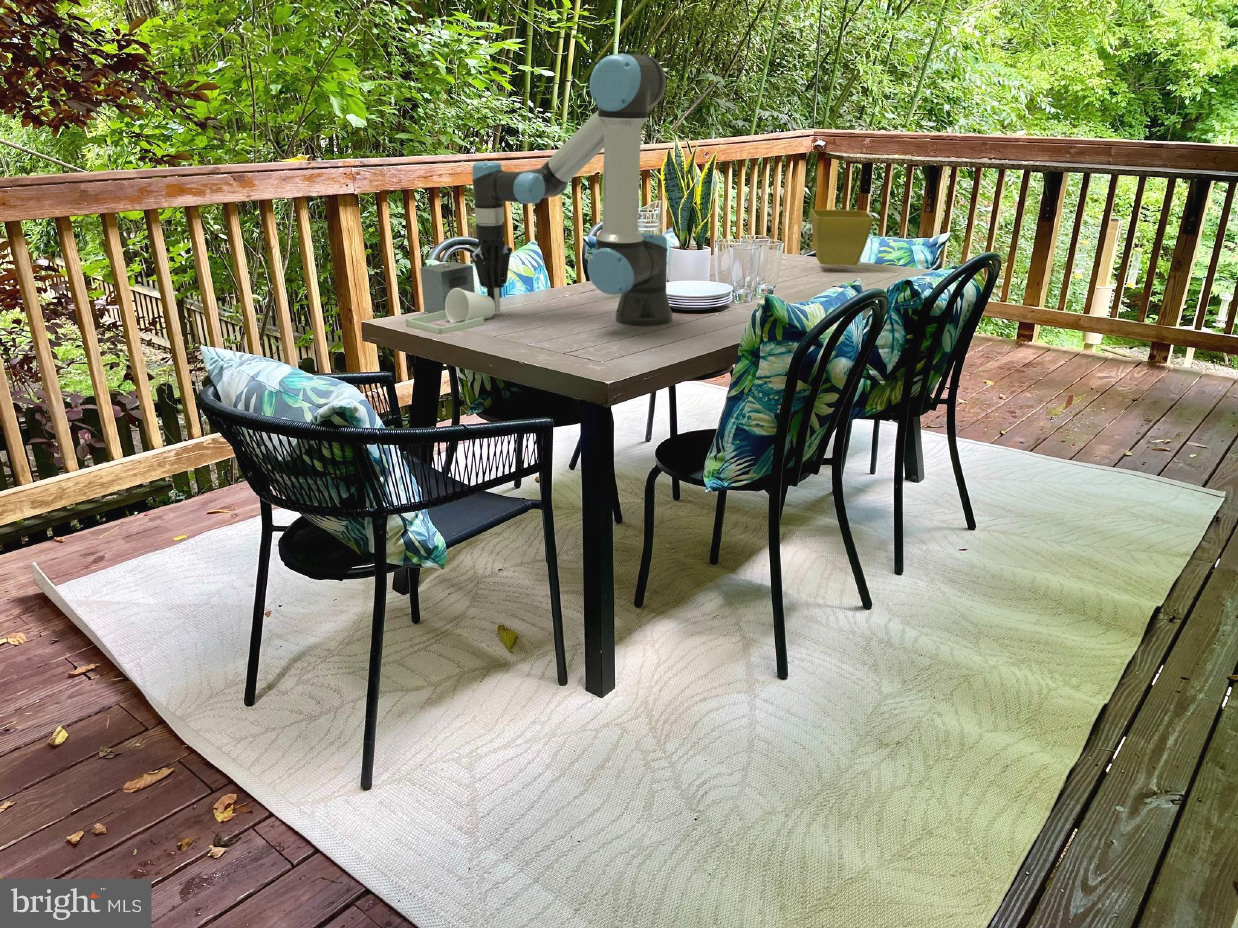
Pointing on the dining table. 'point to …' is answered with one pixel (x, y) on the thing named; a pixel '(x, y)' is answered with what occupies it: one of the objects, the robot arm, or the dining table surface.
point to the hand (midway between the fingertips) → (495, 311)
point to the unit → (444, 283)
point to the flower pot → (840, 235)
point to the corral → (421, 320)
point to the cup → (468, 306)
